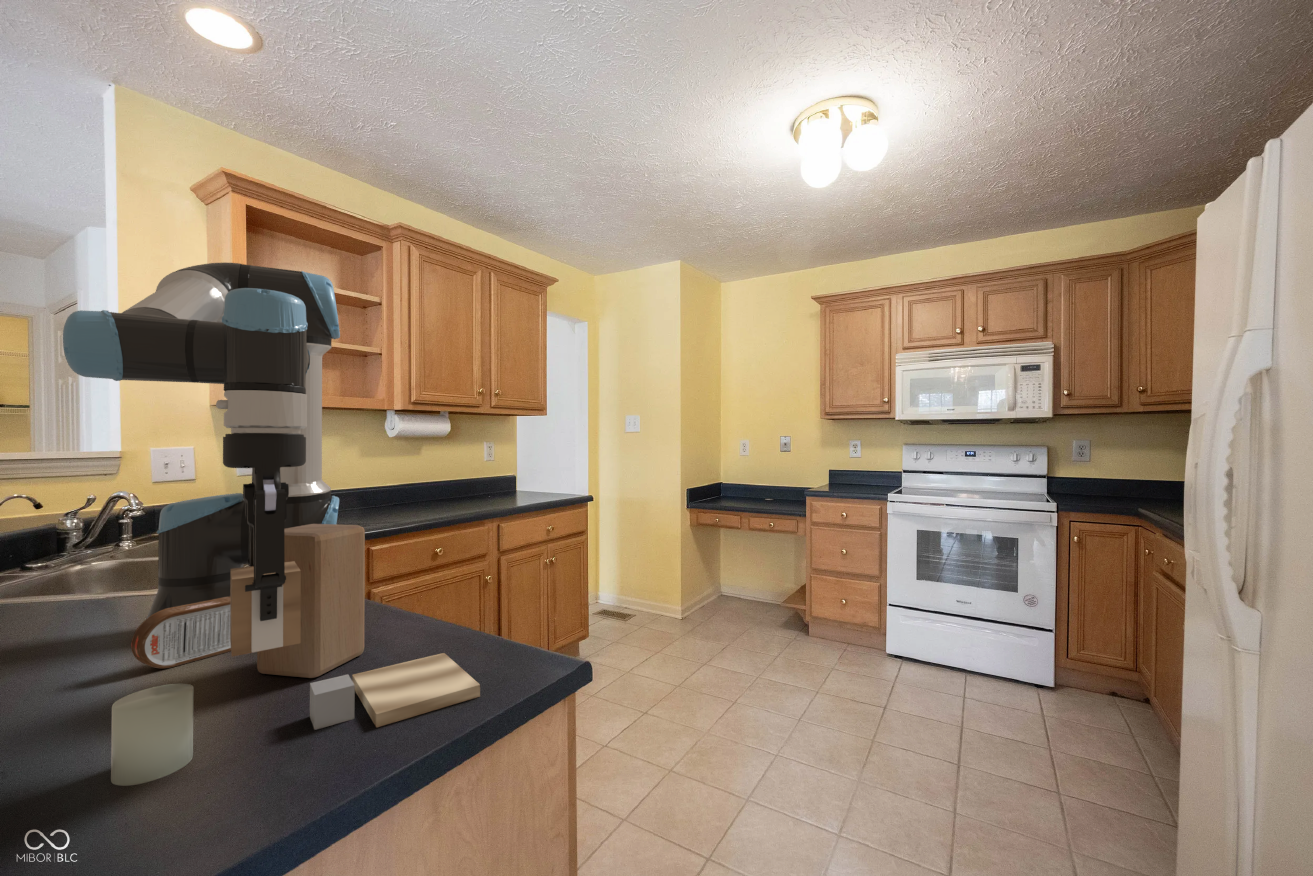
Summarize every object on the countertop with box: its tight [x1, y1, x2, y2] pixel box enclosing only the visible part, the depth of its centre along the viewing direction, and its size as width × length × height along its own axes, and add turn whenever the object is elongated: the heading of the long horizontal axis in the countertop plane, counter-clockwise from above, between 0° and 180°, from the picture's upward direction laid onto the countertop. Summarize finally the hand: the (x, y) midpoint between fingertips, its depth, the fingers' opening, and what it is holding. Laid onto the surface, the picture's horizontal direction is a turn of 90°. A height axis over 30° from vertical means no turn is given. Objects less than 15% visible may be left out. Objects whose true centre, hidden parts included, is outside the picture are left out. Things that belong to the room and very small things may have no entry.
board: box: [351, 652, 481, 728], centre depth 71 cm, size 14×12×2 cm
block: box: [256, 523, 366, 679], centre depth 80 cm, size 10×10×20 cm
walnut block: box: [230, 561, 301, 658], centre depth 60 cm, size 6×6×8 cm
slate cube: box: [309, 673, 356, 731], centre depth 64 cm, size 4×4×4 cm
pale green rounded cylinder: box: [110, 683, 194, 787], centre depth 54 cm, size 6×6×7 cm
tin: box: [130, 597, 231, 669], centre depth 83 cm, size 15×3×8 cm, turn 150°
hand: (265, 639), depth 60 cm, fingers closed on walnut block, 6 cm apart
